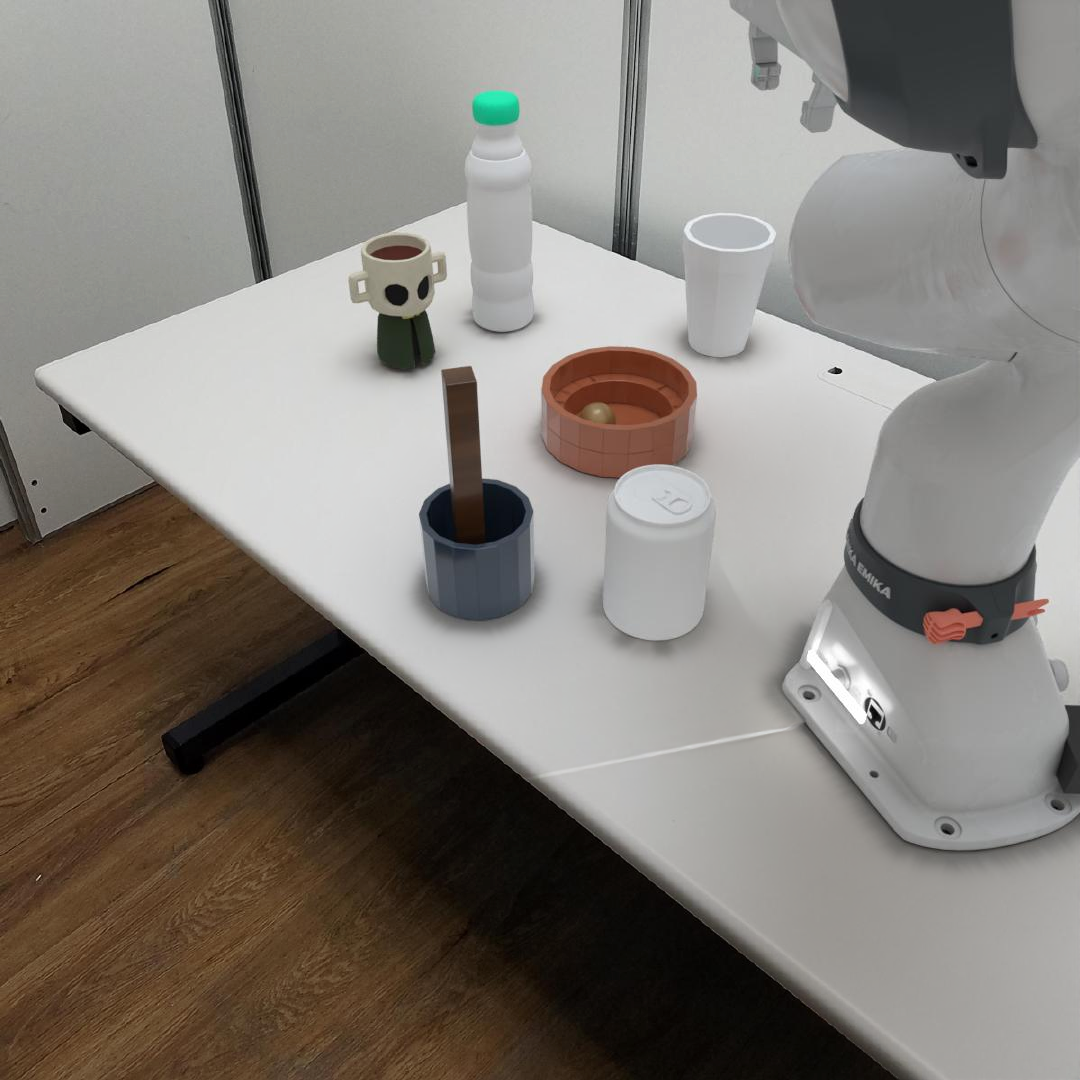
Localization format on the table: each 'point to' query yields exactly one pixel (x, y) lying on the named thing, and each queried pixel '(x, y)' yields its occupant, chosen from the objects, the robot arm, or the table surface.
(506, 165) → the water bottle
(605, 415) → the bead
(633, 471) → the beverage can
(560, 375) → the bowl
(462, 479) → the stick
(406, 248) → the character mug
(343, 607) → the table surface
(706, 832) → the table surface
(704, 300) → the foam cup
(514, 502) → the pot
